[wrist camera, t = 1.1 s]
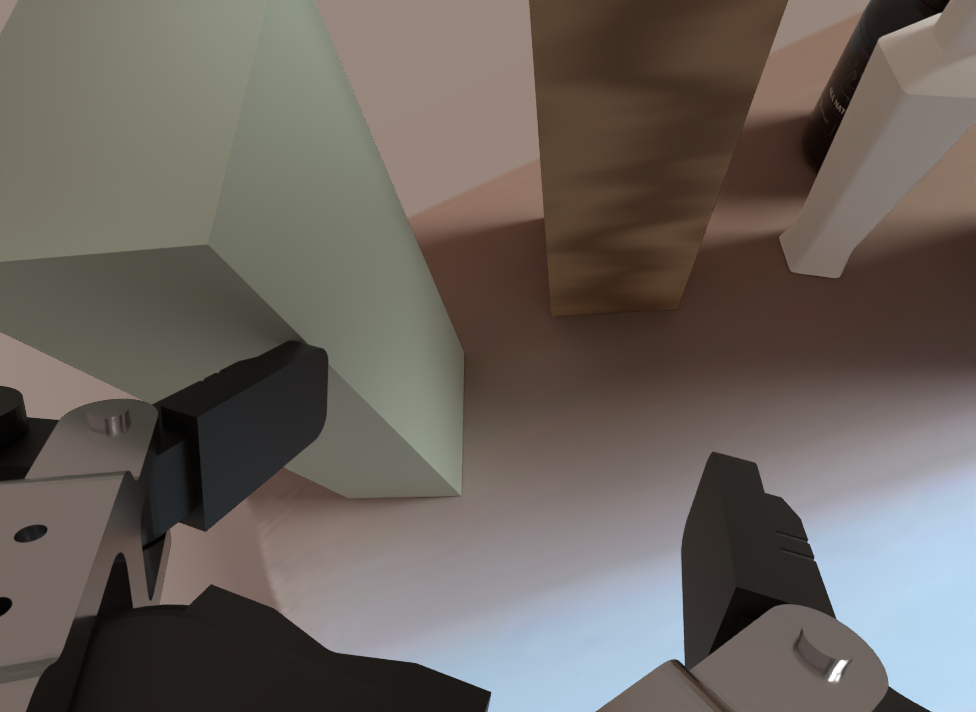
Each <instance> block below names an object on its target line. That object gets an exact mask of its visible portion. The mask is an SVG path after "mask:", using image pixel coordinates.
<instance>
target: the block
mask: <svg viewBox="0 0 976 712" xmlns="http://www.w3.org/2000/svg"><path fill="white" fill-rule="evenodd" d="M0 332H1V333H3V334H6V335H8V336H10V337H12V338H14V339H16V340H18V341H20V342H23V343H24V344H26V345H29V346H31V347H33V348H35V349H37V350H39V351H41V352H43V353H45V354H47V355H49V356H52V357H54V358H56V359H58V360H60V361H62V362H64V363H66V364H68V365H70V366H73V367H75V368H77V369H79V370H81V371H83V372H85V373H87V374H89V375H91V376H94V377H95V378H98V379H100V380H102V381H104V382H106V383H108V384H110V385H112V386H114V387H116V388H118V389H121V390H123V391H125V392H127V393H129V394H131V395H133V396H135V397H138V398H139V399H141V400H144V401H146V402H148V403H150V404H154V403H156V402H158V401H160V400H162V399H164V398H166V397H168V396H170V395H172V394H174V393H176V392H178V391H180V390H182V389H184V388H186V387H188V386H190V385H192V384H194V383H196V382H198V381H203V380H204V378H206V377H208V376H210V375H212V374H214V373H219V371H220V370H222V369H224V368H226V367H228V366H230V365H232V364H234V363H236V362H238V361H241V360H245V359H249V358H253V357H258V356H259V355H261V354H263V353H265V352H267V351H269V350H271V349H273V348H275V347H277V346H279V345H281V344H283V343H285V342H287V341H290V340H293V341H297V342H301V343H305V344H308V345H312V346H316V347H320V348H323V349H325V351H326V352H327V355H328V395H327V416H326V421H325V424H324V427H323V429H322V431H321V433H320V435H319V436H318V438H317V439H316V440H315V441H314V442H313V443H311V444H310V445H309V446H308V447H307V448H305V449H304V450H303V451H302V452H301V453H299V454H298V455H297V456H296V457H295V458H293V459H292V460H291V461H290V462H289V463H287V464H286V465H285V466H284V468H286V469H288V470H290V471H292V472H294V473H296V474H298V475H300V476H302V477H305V478H307V479H309V480H311V481H313V482H315V483H317V484H319V485H321V486H323V487H325V488H328V489H330V490H332V491H334V492H336V493H338V494H340V495H342V496H344V497H346V498H348V499H353V498H397V497H441V496H462V448H463V399H464V351H463V349H462V346H461V344H460V342H459V339H458V337H457V334H456V332H455V330H454V327H453V325H452V323H451V320H450V318H449V316H448V313H447V311H446V309H445V306H444V304H443V301H442V299H441V297H440V294H439V292H438V290H437V287H436V285H435V283H434V280H433V278H432V276H431V273H430V271H429V268H428V266H427V264H426V261H425V259H424V257H423V254H422V252H421V250H420V247H419V245H418V243H417V240H416V238H415V235H414V233H413V231H412V228H411V226H410V224H409V221H408V219H407V217H406V214H405V212H404V210H403V207H402V205H401V203H400V200H399V198H398V196H397V193H396V191H395V188H394V186H393V184H392V182H391V179H390V177H389V174H388V172H387V170H386V167H385V165H384V162H383V160H382V158H381V155H380V153H379V151H378V148H377V146H376V144H375V141H374V139H373V137H372V134H371V132H370V130H369V127H368V125H367V123H366V120H365V118H364V115H363V113H362V111H361V108H360V106H359V104H358V101H357V99H356V96H355V94H354V92H353V89H352V87H351V85H350V82H349V80H348V78H347V75H346V73H345V71H344V68H343V66H342V63H341V61H340V59H339V56H338V54H337V52H336V49H335V47H334V45H333V42H332V40H331V38H330V35H329V33H328V31H327V28H326V26H325V23H324V21H323V19H322V16H321V14H320V12H319V9H318V7H317V5H316V2H315V0H18V2H17V4H16V5H15V7H14V9H13V11H12V13H11V15H10V17H9V19H8V21H7V23H6V25H5V26H4V28H3V30H2V32H1V34H0Z"/></svg>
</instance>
